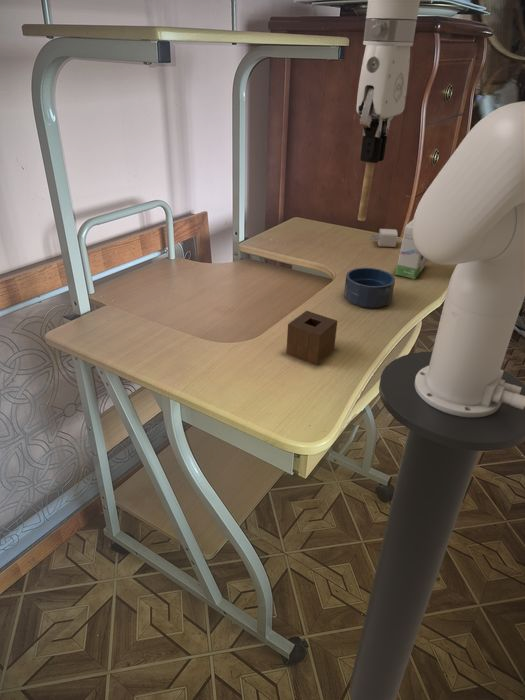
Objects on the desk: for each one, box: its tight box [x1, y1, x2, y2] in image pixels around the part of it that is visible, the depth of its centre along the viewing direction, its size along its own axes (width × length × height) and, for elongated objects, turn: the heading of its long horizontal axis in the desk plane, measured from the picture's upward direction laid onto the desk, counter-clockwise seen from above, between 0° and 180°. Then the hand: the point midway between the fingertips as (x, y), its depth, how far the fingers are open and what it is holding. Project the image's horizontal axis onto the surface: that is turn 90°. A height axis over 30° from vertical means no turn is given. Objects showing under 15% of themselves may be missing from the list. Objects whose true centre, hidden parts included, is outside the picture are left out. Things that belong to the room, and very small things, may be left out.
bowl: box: [343, 267, 396, 309], centre depth 105 cm, size 10×10×5 cm
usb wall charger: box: [369, 228, 399, 248], centre depth 134 cm, size 4×7×4 cm, turn 84°
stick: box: [357, 162, 376, 222], centre depth 87 cm, size 1×1×16 cm
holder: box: [285, 310, 338, 366], centre depth 86 cm, size 6×6×6 cm
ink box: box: [395, 219, 427, 280], centre depth 117 cm, size 9×5×12 cm, turn 150°
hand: (371, 160), depth 86 cm, fingers closed on stick, 1 cm apart
